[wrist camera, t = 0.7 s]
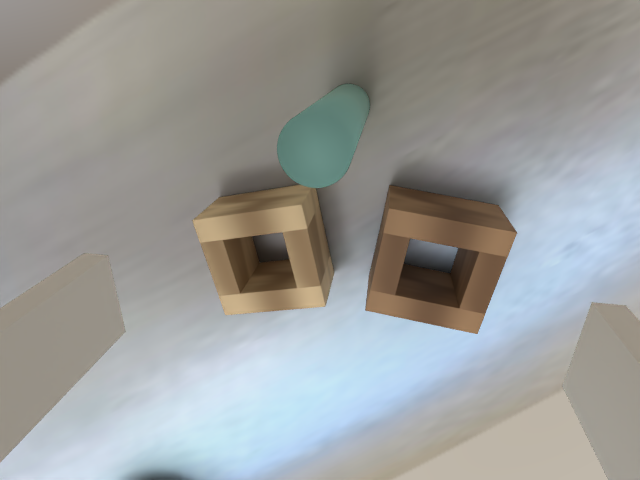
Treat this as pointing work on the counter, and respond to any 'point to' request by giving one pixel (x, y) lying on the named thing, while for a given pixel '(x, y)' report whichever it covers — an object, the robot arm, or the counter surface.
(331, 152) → the teal cylindrical rod
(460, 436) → the counter surface
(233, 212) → the light wooden square frame
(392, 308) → the brown wooden square frame
